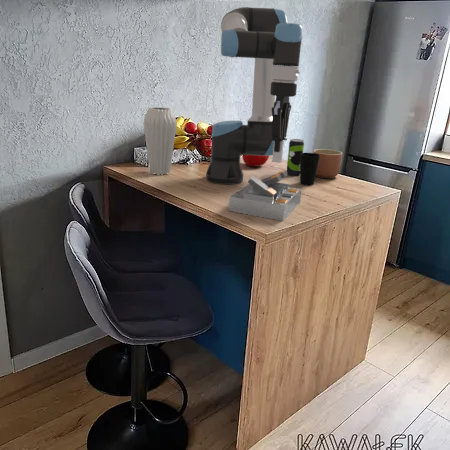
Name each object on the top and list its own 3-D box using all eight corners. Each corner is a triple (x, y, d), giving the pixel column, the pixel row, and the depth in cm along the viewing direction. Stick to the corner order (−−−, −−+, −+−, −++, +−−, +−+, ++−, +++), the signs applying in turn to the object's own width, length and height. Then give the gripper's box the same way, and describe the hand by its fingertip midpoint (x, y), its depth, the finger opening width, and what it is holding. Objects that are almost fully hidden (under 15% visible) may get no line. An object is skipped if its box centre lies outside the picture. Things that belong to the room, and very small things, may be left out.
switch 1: (254, 190, 151) (252, 185, 151) (258, 187, 155) (256, 182, 154) (278, 181, 147) (276, 175, 147) (281, 179, 150) (279, 173, 150)
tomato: (243, 162, 220) (244, 139, 216) (268, 163, 218) (270, 141, 214) (240, 168, 207) (241, 144, 203) (267, 170, 206) (269, 146, 202)
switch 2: (247, 182, 144) (250, 177, 143) (251, 180, 147) (254, 175, 146) (270, 199, 143) (273, 194, 142) (273, 196, 146) (277, 191, 145)
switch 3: (261, 185, 158) (259, 180, 157) (264, 183, 161) (262, 178, 160) (284, 176, 153) (282, 171, 153) (287, 174, 157) (285, 169, 156)
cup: (316, 187, 182) (319, 157, 178) (297, 185, 183) (300, 155, 179) (316, 182, 189) (320, 153, 185) (297, 180, 190) (301, 152, 186)
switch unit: (228, 211, 147) (230, 192, 145) (251, 195, 166) (252, 177, 164) (282, 221, 141) (284, 200, 139) (300, 202, 160) (302, 184, 158)
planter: (307, 177, 196) (310, 152, 192) (313, 171, 207) (316, 147, 203) (337, 181, 192) (340, 155, 188) (341, 175, 203) (344, 151, 199)
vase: (154, 168, 198) (153, 105, 189) (181, 172, 194) (182, 108, 185) (137, 174, 187) (136, 108, 178) (166, 178, 182) (167, 111, 173)
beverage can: (296, 172, 204) (300, 138, 199) (303, 175, 199) (306, 141, 194) (283, 172, 202) (287, 138, 197) (290, 176, 197) (293, 141, 192)
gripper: (290, 83, 125) (282, 167, 133) (302, 81, 137) (294, 159, 145) (264, 81, 128) (258, 164, 136) (278, 80, 139) (271, 156, 147)
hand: (276, 161), depth 140 cm, fingers closed
